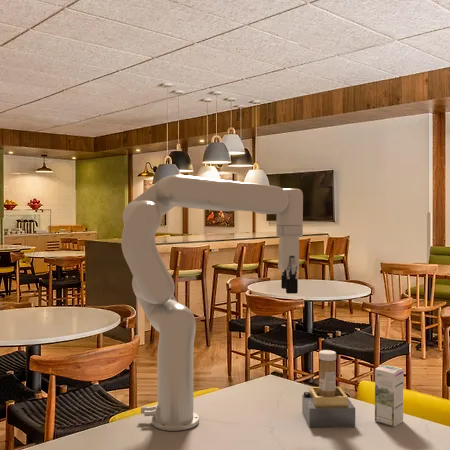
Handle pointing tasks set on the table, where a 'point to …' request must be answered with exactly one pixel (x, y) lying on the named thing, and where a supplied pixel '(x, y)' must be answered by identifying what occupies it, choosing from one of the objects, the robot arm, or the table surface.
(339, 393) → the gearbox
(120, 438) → the table surface
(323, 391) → the sprinkles bottle
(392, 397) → the syrup box
